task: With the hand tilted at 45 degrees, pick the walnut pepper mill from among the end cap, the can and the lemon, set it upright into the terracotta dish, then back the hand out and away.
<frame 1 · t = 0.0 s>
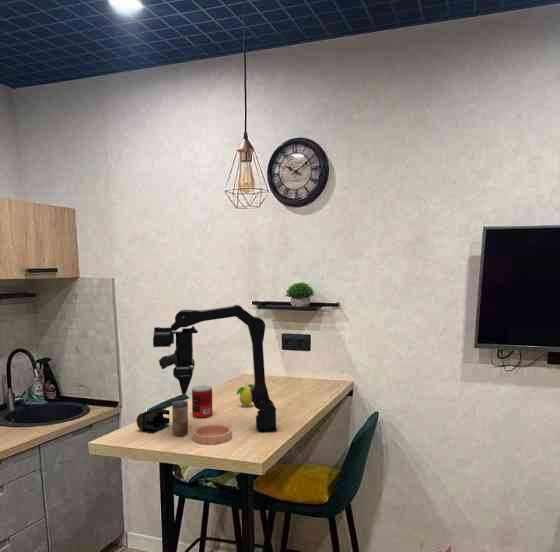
hand: (184, 391, 165), 15 cm above the table, tool pointing down, fingers open, 9 cm apart
end cap: (153, 429, 171), on the table
pepper mill: (180, 434, 165), on the table
terracotta dish: (212, 438, 160), on the table
canned food: (202, 416, 186), on the table
lemon: (246, 406, 199), on the table
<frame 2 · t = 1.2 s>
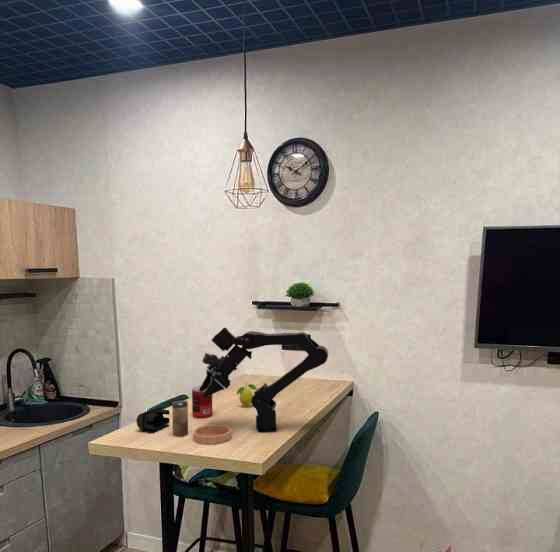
hand: (201, 393, 167), 13 cm above the table, tool tilted 45°, fingers open, 9 cm apart
nothing on the table moved.
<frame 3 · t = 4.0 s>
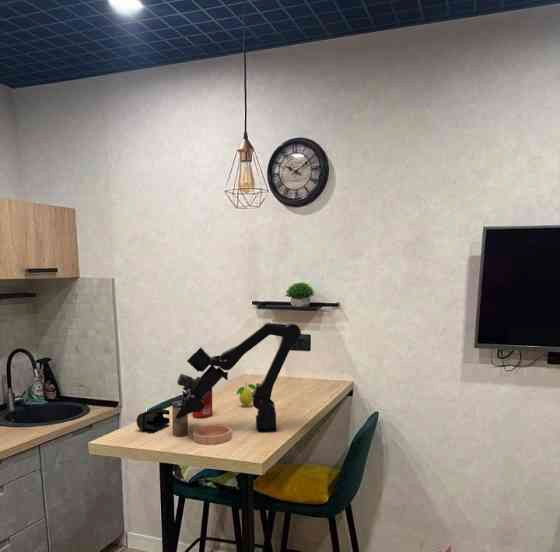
hand: (176, 415, 164), 7 cm above the table, tool tilted 45°, fingers closed on pepper mill, 5 cm apart
pepper mill: (180, 434, 165), on the table, touching gripper
everything else where it was.
when the fingers open (8 cm above the table, at t = 7.4 s): pepper mill drops 1 cm, resting on terracotta dish.
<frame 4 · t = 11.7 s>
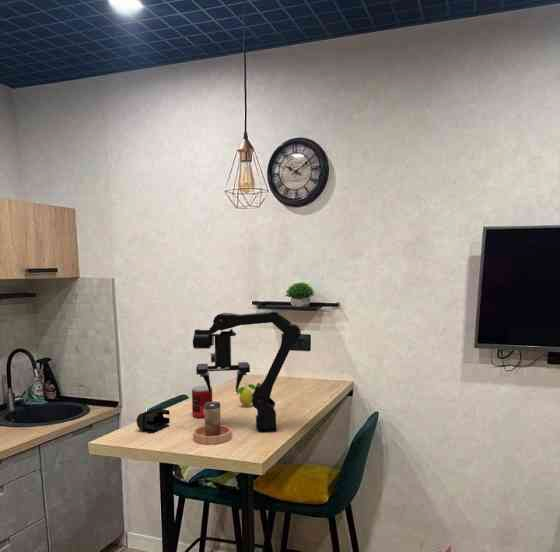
hand: (223, 392, 170), 13 cm above the table, tool pointing down, fingers open, 9 cm apart
pepper mill: (212, 436, 160), point 1 cm above the table, touching terracotta dish
everything else where it was.
at the end: pepper mill 0.1 cm off-centre on the terracotta dish, point 0.6 cm above the terracotta dish's base; pepper mill tilted 0°; the gripper is holding nothing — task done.
